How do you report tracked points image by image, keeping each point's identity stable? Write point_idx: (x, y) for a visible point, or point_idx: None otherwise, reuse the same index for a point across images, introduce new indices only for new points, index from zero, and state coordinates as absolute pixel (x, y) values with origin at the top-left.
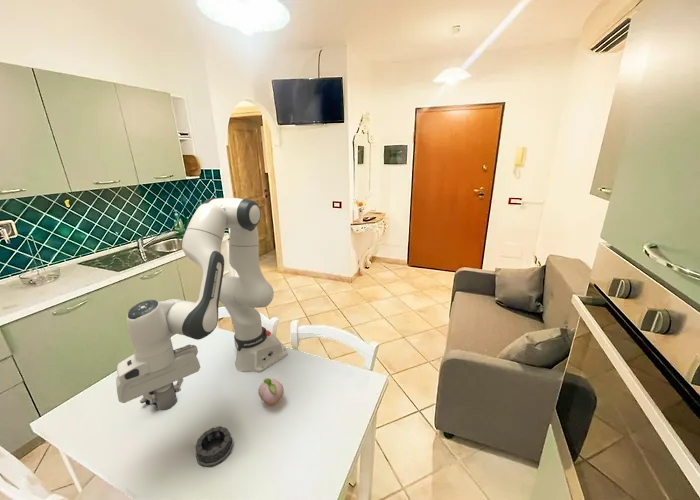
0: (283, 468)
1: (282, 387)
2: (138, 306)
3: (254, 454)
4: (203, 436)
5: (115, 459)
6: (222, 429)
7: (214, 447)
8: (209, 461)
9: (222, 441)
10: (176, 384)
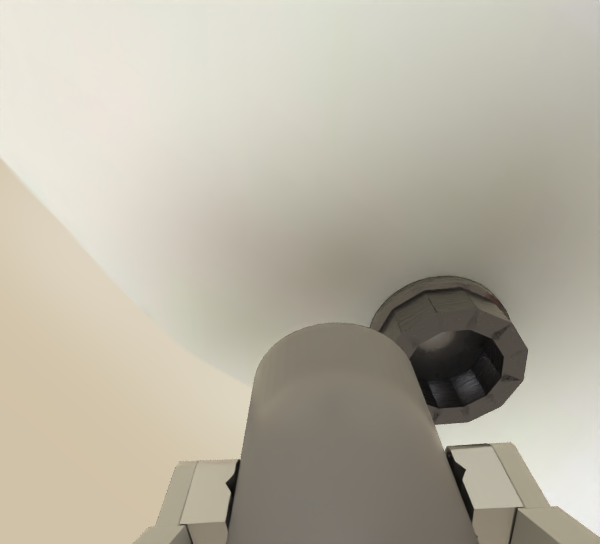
0: (570, 491)
1: None
2: None
3: (534, 419)
4: (427, 332)
5: (64, 146)
6: (508, 342)
7: (440, 344)
8: None
9: (475, 336)
10: (513, 514)
